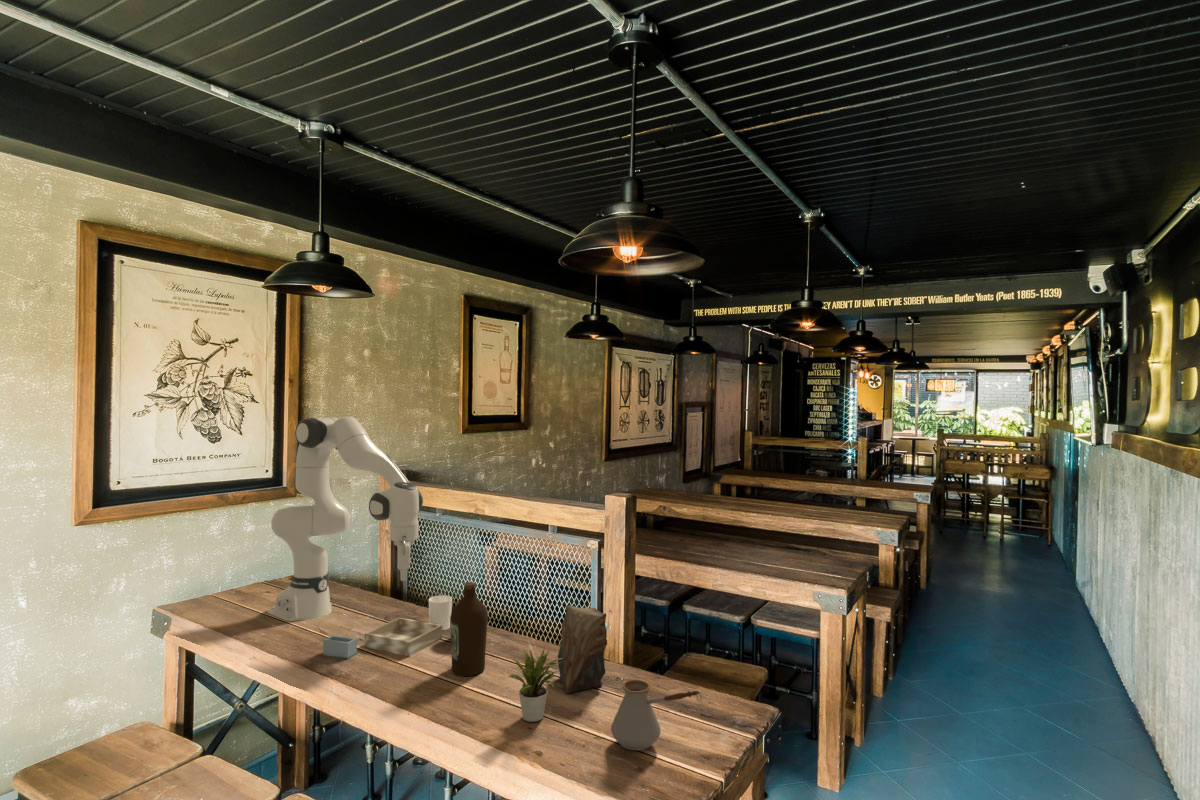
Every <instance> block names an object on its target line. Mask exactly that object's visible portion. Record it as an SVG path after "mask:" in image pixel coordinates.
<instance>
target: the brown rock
mask: <svg viewBox="0 0 1200 800" xmlns="http://www.w3.org/2000/svg"><path fill="white" fill-rule="evenodd" d="M606 620H607V614H606V613H603V612H601V611H599V610H598V609H597V608H596V607H579V606H578V607H577V606H576V605H569V604H568V605H566V607H565V614H564V618H563V620H562V624H561V639H562V641H561V642H560V645H559V649H558V653H557V659H559V658H563V659H560V660H557V662H559V664H557V665H558V666H557V667H558V671H559V679H560V681H561V682H560V683H562V688H563V690H564V692H565V693H566V695H567V694H572V693H575V692H580V691H583V690H589V689H591V688H598V687H600V686H602V685H603V681H602V679H603V678H604V676H605V674H606V666H605V663H606V661H605V660H606V659H605V657H604V655H605V651H606V649H607V648H606V647H607V645H608V640H607V628H606V626H607V625H606Z"/></svg>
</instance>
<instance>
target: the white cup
mask: <svg viewBox="0 0 1200 800" xmlns="http://www.w3.org/2000/svg"><path fill="white" fill-rule="evenodd" d="M452 605H453V597H452V596H449V595H445V594H444V595H435V596H431V597H429V598H428V619H429V623H432V624H438V625H442V631H446V630H448V629H449V630H450V616H451V613H452V610H453V606H452Z"/></svg>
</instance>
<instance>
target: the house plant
mask: <svg viewBox="0 0 1200 800" xmlns="http://www.w3.org/2000/svg"><path fill="white" fill-rule="evenodd" d="M550 651H551V650H548V651H547V652H545V649H543V651H542V652H541V654H540V655H539V657H538V659H537V661H536V663H535V660H534V657H533V652H532V649H530V650H529V654H528V651H527V650H526V649H524V648H523V659H524V661H522V662H524V666H523V665H522V664H521V662H520V661H518V660H517V659H516V658H512V660H513V661H514V662H515V663H516V665H517V666H518V667H519V668H518V667H517V666H515V668H517V670H519V671H520V673H521V675H522V676H523V677H524V679H525V680H524V679H523V678H522V677H521V676H519V675H517V674H510V675H508V678H512V679H515V680H518V681H520V682H521V683H522V685H521V686H522V687H521V688H520V689H519V690H518V696H519V701H520V708H521V714H522V719H523V720H524V721H526V722H529V723H530V722H538V721H541V720H542V719H543V718H544V714H545V708H546V702H547V696H548V691H549V690H548V688H546V687H545V686H546V685H547V684H548V685H551V686H552V687H553V688H555V685H554V683H553V681H551V680H549V679H552V678H555V677H557V675H556V673H560V671H559V670H558V671H552V670H549V669H550V668H551V667H552V668H555V666H554V665H558V664H559V662H558V660H560V659H563V658H559V659H558V658H556V659H554V660H552V661H550V662H549V663H548V664H547V665H545V663H546V662H547V658H548V655H549V654H550ZM544 665H545V666H544ZM547 674H548V675H547ZM544 676H545V677H544Z"/></svg>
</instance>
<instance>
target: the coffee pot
mask: <svg viewBox="0 0 1200 800" xmlns="http://www.w3.org/2000/svg"><path fill="white" fill-rule="evenodd" d="M622 689H623V690H624V696H623V698H622V701H621V703H620V705H619V707H618V710H617V712H616V713H615V716H614V718H613V720H612V722H611V726H610V730H611V734H612V736H613V738H614V740H616V742H617V743H619V744H620V746H621V747H623V748H624V749H626V750H631V751H643V750H646V749H649V748H650V747H651V746H652V745H653V744H654V743H656V742H657V740H658V739H659V737H660V735H661V726H660V724H659V721H658V718H657V716H656V714H655V712H654V709H653V706H652V704H656V703H660V702H665V701H666V702H667V701H676V700H682V699H684V698H687V697H688V698H691V697H693V696H696V700H697V701H698V702H701V701H702V694H701V692H700V691H699V690H693V691H690V690H688V691H687V692H677V693H674V694H670V695H665V696H663V697H662V696H661V697H655V698H649V695H648V693H649V691H650V690H651V685H650V683H648V682H647V681H645V680H642V679H629V680H626V681H625V682H623V684H622ZM698 695H700V700H699V698H698Z"/></svg>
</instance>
